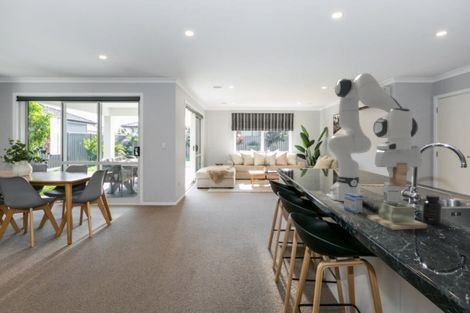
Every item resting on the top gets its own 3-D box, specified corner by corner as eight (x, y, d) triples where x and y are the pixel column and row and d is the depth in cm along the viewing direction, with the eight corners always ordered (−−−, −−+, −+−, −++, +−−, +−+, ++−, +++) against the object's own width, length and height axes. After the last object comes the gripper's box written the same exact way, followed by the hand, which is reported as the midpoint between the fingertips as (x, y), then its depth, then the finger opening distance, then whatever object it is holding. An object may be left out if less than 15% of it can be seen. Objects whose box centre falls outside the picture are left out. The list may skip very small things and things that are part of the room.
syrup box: (398, 212, 136) (400, 183, 135) (386, 211, 138) (387, 183, 137) (394, 209, 142) (395, 182, 141) (382, 208, 143) (383, 181, 142)
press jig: (367, 218, 126) (368, 201, 125) (397, 216, 128) (398, 200, 128) (392, 229, 110) (393, 210, 109) (427, 227, 112) (428, 209, 112)
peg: (389, 184, 119) (390, 162, 119) (398, 184, 120) (399, 162, 120) (396, 186, 115) (397, 163, 115) (406, 186, 116) (407, 163, 115)
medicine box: (343, 209, 141) (344, 193, 141) (349, 208, 143) (350, 192, 142) (355, 213, 134) (356, 196, 133) (362, 212, 136) (362, 195, 135)
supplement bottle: (424, 219, 125) (425, 193, 124) (442, 222, 120) (444, 195, 119) (420, 222, 120) (421, 195, 119) (439, 226, 115) (441, 198, 114)
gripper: (414, 145, 122) (413, 176, 122) (373, 145, 118) (372, 176, 119) (426, 145, 115) (424, 178, 116) (383, 145, 112) (382, 178, 113)
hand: (397, 177), depth 118 cm, fingers closed on peg, 4 cm apart
